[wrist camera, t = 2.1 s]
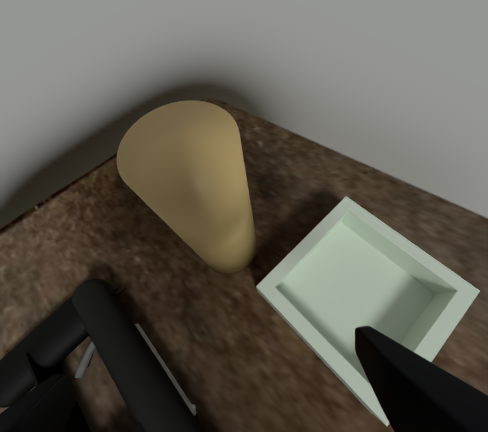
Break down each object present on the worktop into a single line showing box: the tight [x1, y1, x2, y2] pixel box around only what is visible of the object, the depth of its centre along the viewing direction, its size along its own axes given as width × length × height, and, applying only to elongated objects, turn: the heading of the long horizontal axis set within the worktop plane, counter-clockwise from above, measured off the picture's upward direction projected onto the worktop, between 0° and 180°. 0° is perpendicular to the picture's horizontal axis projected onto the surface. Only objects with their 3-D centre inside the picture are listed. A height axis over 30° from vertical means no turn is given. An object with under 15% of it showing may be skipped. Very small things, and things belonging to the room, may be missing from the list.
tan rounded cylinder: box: [117, 101, 257, 274], centre depth 16 cm, size 5×5×14 cm
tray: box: [256, 197, 480, 426], centre depth 18 cm, size 11×11×3 cm
